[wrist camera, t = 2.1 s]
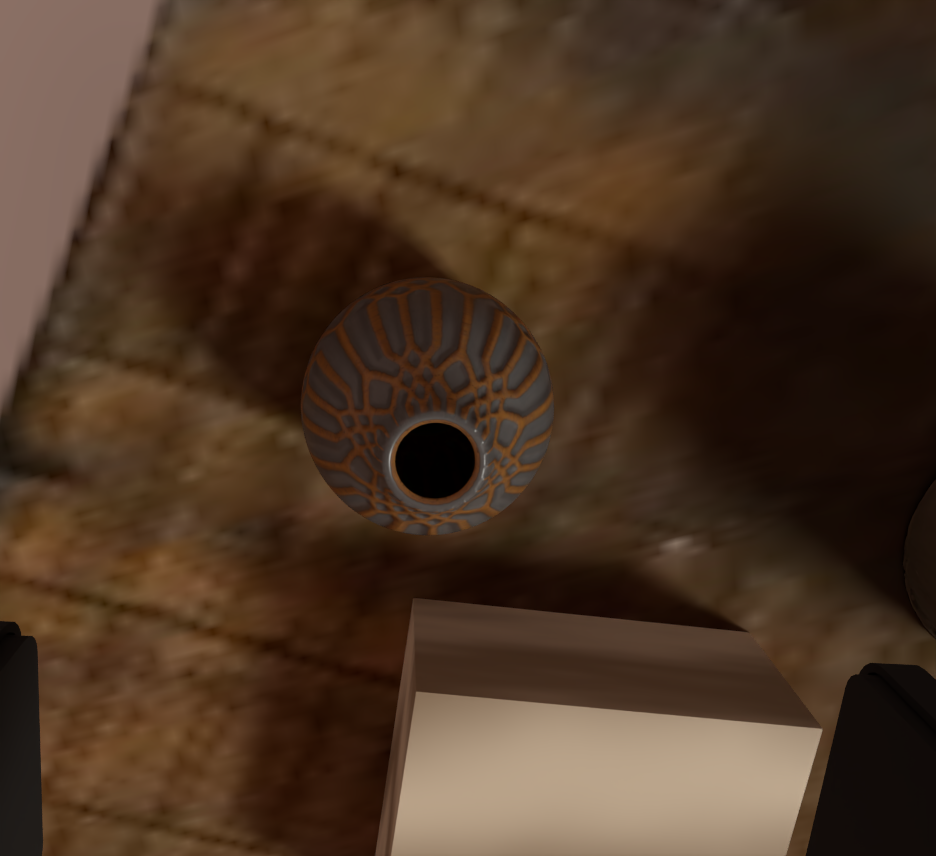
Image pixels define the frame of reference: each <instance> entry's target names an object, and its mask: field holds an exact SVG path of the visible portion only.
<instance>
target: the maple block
mask: <svg viewBox="0 0 936 856" xmlns="http://www.w3.org/2000/svg"><path fill="white" fill-rule="evenodd" d="M822 730H823V729H822V727H821V726H820V725H819V723H818V722H817V721H816V719H815V718H814V717H813V716H812V714H811V713H810V712H809V710H808V709H807V708H806V706H805V705H804V704H803V702H802V701H801V700H800V698H799V697H798V696H797V694H796V693H795V692H794V691H793V689H792V688H791V687H790V685H789V684H788V683H787V681H786V680H785V679H784V677H783V676H782V675H781V673H780V672H779V671H778V669H777V668H776V667H775V665H774V664H773V663H772V662H771V660H770V659H769V658H768V656H767V655H766V654H765V652H764V651H763V650H762V648H761V647H760V646H759V644H758V643H757V642H756V640H755V639H754V638H753V637H752V635H751V634H750V633H749V632H741V631H731V630H721V629H711V628H702V627H692V626H682V625H673V624H663V623H653V622H643V621H634V620H624V619H614V618H605V617H595V616H585V615H576V614H566V613H556V612H546V611H537V610H527V609H517V608H508V607H498V606H488V605H478V604H469V603H459V602H449V601H440V600H430V599H420V598H413V602H412V609H411V616H410V623H409V630H408V636H407V643H406V650H405V657H404V663H403V670H402V677H401V684H400V690H399V697H398V704H397V711H396V718H395V724H394V731H393V738H392V745H391V751H390V758H389V765H388V772H387V778H386V785H385V792H384V799H383V806H382V812H381V819H380V826H379V833H378V839H377V846H376V853H375V856H786V853H787V849H788V846H789V842H790V839H791V836H792V832H793V829H794V825H795V822H796V819H797V815H798V812H799V808H800V805H801V801H802V798H803V795H804V791H805V788H806V784H807V781H808V778H809V774H810V771H811V767H812V764H813V760H814V757H815V754H816V750H817V747H818V743H819V740H820V737H821V733H822Z"/></svg>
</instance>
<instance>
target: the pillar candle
mask: <svg viewBox="0 0 936 856" xmlns="http://www.w3.org/2000/svg"><path fill="white" fill-rule="evenodd" d="M903 567H904V569H905V570H906V573H905V574H904V576H905V584H906V589H907V592H908V595H909V598H910V602H911V604H912V607H913V608H914V610H915V612H916V613H917V616H918V617H919V618H920V620H921V622H922V624H923V625H924V627H925V628H926V629H927V630H928V631H929V632H930V634H932V635H933V636H934V637H935V639H936V480H935V481H934V482H933V483H932V484H931V486H930V487H929V489H928V490H927V492H926V493H925V495H924V497H923V498H922V500H921V501H920V503H919V504H918V506H917V509H916V510H915V512H914V514H913V517H912V519H911V521H910V524H909V528H908V535H907V537H906V539H905V547H904V562H903Z"/></svg>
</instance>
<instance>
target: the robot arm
mask: <svg viewBox="0 0 936 856" xmlns="http://www.w3.org/2000/svg"><path fill="white" fill-rule="evenodd" d="M42 850H43V829H42V794H41V758H40V723H39V688H38V652H37V643H36V640H35V638H34V637H33V636H21V631H20V629H19V626H18V625H17V624H16V623H15V622H5V621H0V856H42ZM806 856H936V680H935V679H934V678H933V677H932V676H931V675H930V674H929V673H928V672H927V671H926V670H924V669H923V668H921V667H920V666H917V665H902V664H881V663H869V664H867V665H865V666H864V667H863V669H862V670H861V671H860V673H859V675H857V674H855V675H853V676H851V677H850V679H849V680H848V682H847V685H846V688H845V692H844V696H843V700H842V704H841V709H840V713H839V717H838V721H837V726H836V730H835V734H834V738H833V743H832V747H831V751H830V755H829V759H828V764H827V768H826V772H825V776H824V781H823V785H822V789H821V793H820V798H819V802H818V806H817V810H816V815H815V819H814V823H813V827H812V831H811V836H810V840H809V844H808V848H807V853H806Z"/></svg>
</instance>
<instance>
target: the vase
mask: <svg viewBox="0 0 936 856" xmlns="http://www.w3.org/2000/svg"><path fill="white" fill-rule="evenodd" d="M301 417H302V425H303V431H304V436H305V439H306V443H307V446H308V449H309V452H310V454H311V457H312V459H313V461H314V463H315V465H316V467H317V469H318V470H319V472H320V474H321V476H322V477H323V478H324V480H325V481H326V483H327V484H328V485H329V487H330V488H331V489H332V490H333V491H334V493H335V494H336V495H337V496H338V497H339V498H340V499H341V500H342V501H343V502H344V503H345V504H347V505H348V506H349V507H350V508H352V509H353V510H354V511H356V512H357V513H359V514H360V515H362V516H363V517H365V518H367V519H368V520H370V521H372V522H374V523H376V524H378V525H380V526H383V527H386V528H388V529H391V530H395V531H399V532H403V533H409V534H416V535H440V534H448V533H453V532H458V531H462V530H465V529H468V528H471V527H473V526H476V525H478V524H481V523H483V522H485V521H487V520H488V519H490V518H492V517H494V516H495V515H497V514H498V513H500V512H501V511H502V510H504V509H505V508H506V507H507V506H509V505H510V504H511V503H512V502H513V501H514V500H515V499H516V498H517V497H518V496H519V495H520V494H521V493H522V492H523V490H524V489H525V488H526V487H527V485H528V484H529V483H530V481H531V480H532V478H533V477H534V475H535V473H536V472H537V470H538V468H539V466H540V464H541V462H542V460H543V458H544V455H545V453H546V450H547V447H548V444H549V440H550V436H551V431H552V426H553V418H554V396H553V387H552V381H551V376H550V373H549V369H548V366H547V363H546V360H545V358H544V355H543V353H542V351H541V349H540V347H539V345H538V344H537V342H536V340H535V338H534V337H533V335H532V334H531V332H530V331H529V329H528V328H527V327H526V326H525V324H524V323H523V322H522V321H521V320H520V319H519V318H518V317H517V316H516V314H514V313H513V312H512V311H511V310H510V309H509V308H508V307H507V306H506V305H504V304H503V303H502V302H500V301H499V300H498V299H496V298H494V297H493V296H491V295H490V294H488V293H486V292H484V291H482V290H480V289H478V288H476V287H473V286H471V285H468V284H465V283H462V282H459V281H455V280H450V279H444V278H435V277H418V278H409V279H403V280H398V281H394V282H391V283H388V284H385V285H382V286H380V287H377V288H375V289H373V290H371V291H369V292H367V293H366V294H364V295H362V296H361V297H359V298H358V299H356V300H355V301H353V302H352V303H351V304H349V305H348V306H347V307H346V308H345V309H343V310H342V311H341V312H340V313H339V314H338V315H337V316H336V317H335V318H334V320H333V321H332V322H331V323H330V324H329V326H328V327H327V328H326V330H325V331H324V333H323V334H322V336H321V337H320V339H319V341H318V342H317V344H316V346H315V348H314V350H313V352H312V354H311V357H310V359H309V362H308V365H307V368H306V372H305V376H304V380H303V385H302V393H301Z"/></svg>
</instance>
